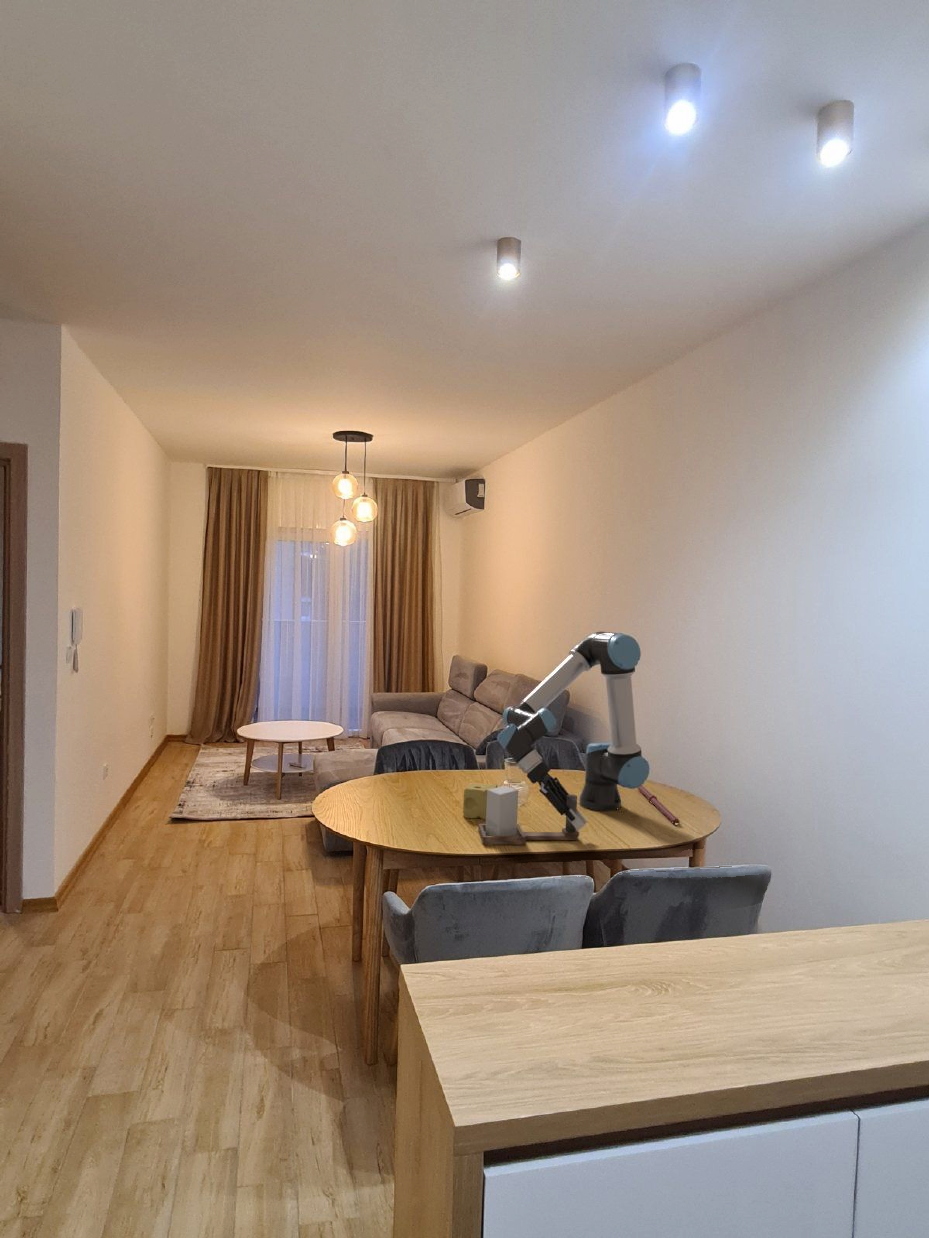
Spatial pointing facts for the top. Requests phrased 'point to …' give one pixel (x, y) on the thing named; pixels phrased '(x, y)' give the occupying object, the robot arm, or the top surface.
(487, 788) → the cheese
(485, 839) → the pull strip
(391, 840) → the top surface
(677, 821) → the reddish-brown rod
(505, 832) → the skincare box
